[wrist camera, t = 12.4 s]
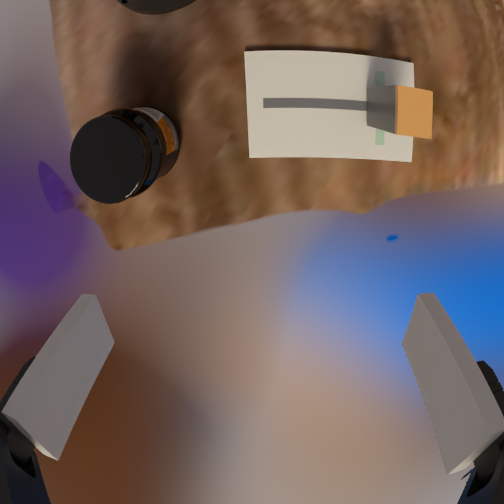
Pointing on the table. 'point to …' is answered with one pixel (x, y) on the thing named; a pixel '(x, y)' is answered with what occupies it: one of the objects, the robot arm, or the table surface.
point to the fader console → (320, 105)
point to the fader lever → (400, 110)
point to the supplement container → (123, 153)
